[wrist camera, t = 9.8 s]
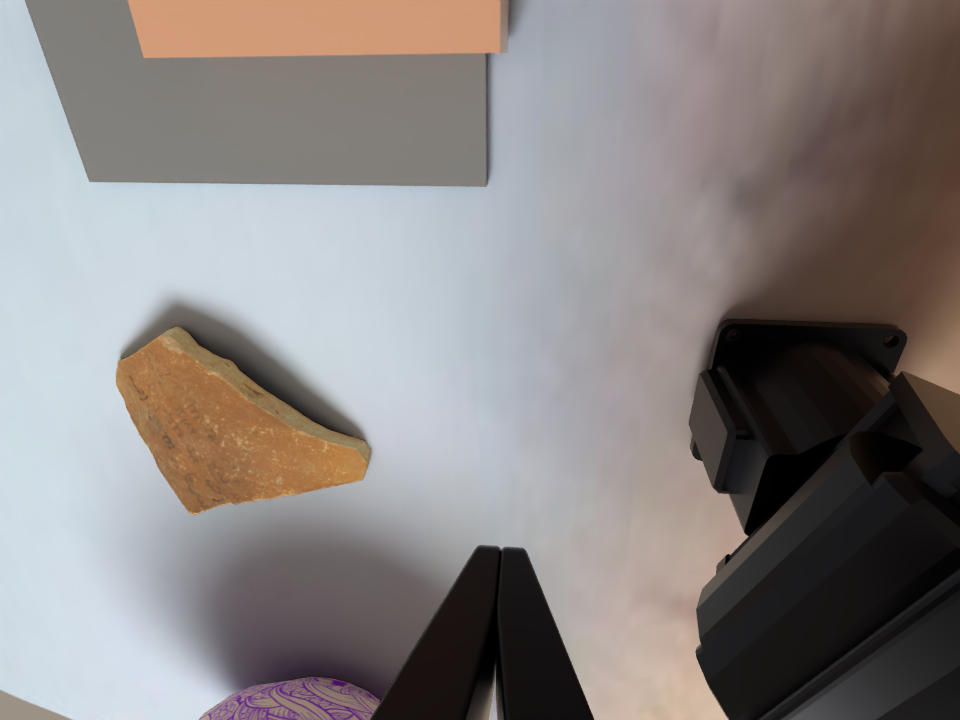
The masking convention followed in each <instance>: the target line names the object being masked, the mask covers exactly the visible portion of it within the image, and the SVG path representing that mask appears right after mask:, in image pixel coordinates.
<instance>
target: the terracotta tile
mask: <svg viewBox="0 0 960 720" xmlns="http://www.w3.org/2000/svg"><path fill="white" fill-rule="evenodd" d="M128 3H129V7H130V10H131V14H132V17H133V21H134V25H135V28H136V32H137V35H138V39H139V43H140V46H141V50H142V53H143V57H144V58H225V57H291V56H357V55H423V54H489V53H508V12H509V0H128Z"/></svg>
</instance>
